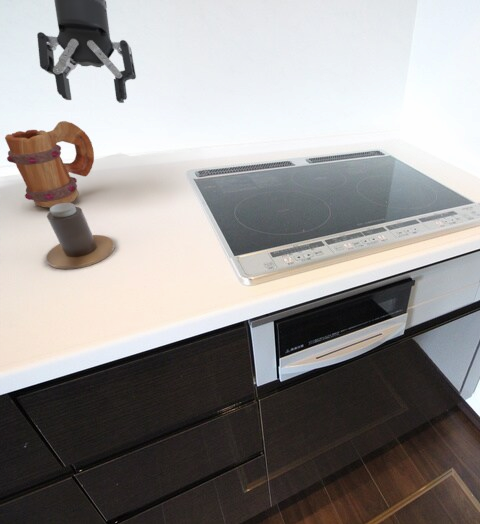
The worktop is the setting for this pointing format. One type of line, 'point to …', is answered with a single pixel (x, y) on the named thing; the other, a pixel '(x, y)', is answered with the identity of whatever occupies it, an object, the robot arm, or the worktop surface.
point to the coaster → (62, 261)
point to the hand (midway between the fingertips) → (94, 100)
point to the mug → (50, 162)
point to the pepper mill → (71, 229)
